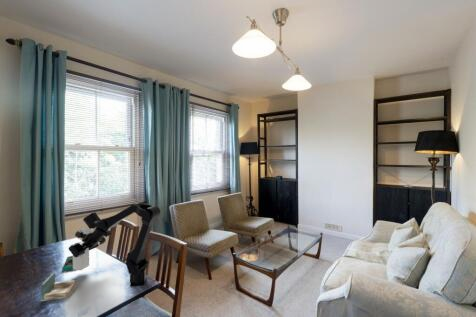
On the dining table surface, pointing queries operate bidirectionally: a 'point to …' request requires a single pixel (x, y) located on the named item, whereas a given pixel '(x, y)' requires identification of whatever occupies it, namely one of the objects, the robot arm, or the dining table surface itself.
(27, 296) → the dining table surface
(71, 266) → the digital multimeter
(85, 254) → the connector plug
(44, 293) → the tray
